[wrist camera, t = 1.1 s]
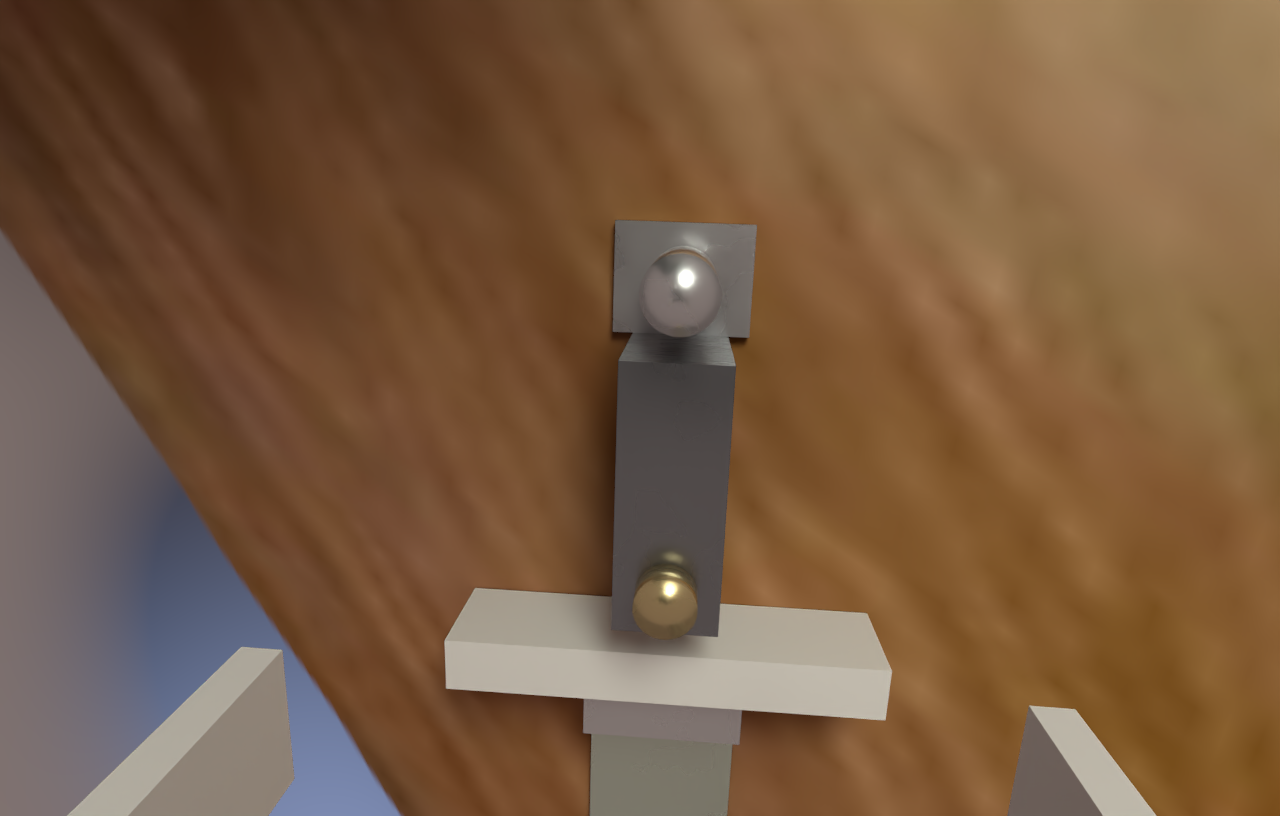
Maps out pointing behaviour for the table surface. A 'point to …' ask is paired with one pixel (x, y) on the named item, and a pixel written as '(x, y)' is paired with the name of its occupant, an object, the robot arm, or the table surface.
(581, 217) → the table surface
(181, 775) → the robot arm
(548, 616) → the door edge
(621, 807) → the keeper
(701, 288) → the grey knobbed fixture
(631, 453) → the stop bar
